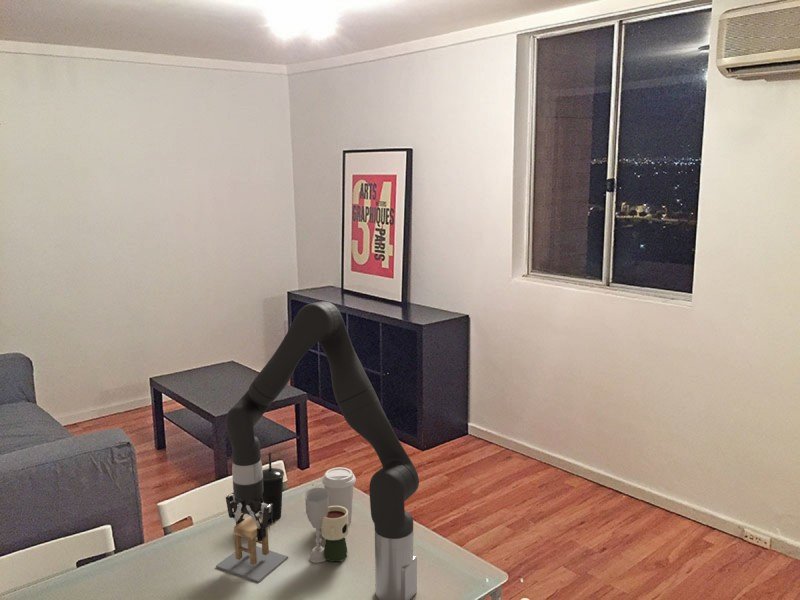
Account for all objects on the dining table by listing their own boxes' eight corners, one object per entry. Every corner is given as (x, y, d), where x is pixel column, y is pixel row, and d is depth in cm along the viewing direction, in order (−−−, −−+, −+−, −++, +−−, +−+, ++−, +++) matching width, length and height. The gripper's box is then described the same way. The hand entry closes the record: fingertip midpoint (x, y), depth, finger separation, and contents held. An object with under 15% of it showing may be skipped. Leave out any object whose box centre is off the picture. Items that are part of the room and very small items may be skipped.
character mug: (347, 569, 177) (345, 523, 174) (319, 569, 177) (317, 523, 174) (351, 545, 187) (350, 501, 184) (325, 545, 187) (323, 501, 185)
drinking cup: (256, 513, 204) (253, 450, 200) (281, 508, 207) (279, 446, 203) (263, 525, 197) (259, 461, 193) (289, 520, 201) (286, 456, 196)
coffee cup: (318, 527, 197) (316, 478, 193) (331, 510, 205) (329, 464, 202) (349, 532, 194) (348, 483, 191) (361, 515, 203) (360, 468, 200)
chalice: (327, 566, 178) (325, 502, 174) (302, 563, 179) (299, 500, 175) (335, 550, 185) (333, 488, 181) (311, 547, 186) (308, 486, 182)
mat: (288, 558, 182) (288, 556, 182) (258, 582, 171) (258, 580, 171) (246, 544, 188) (246, 542, 188) (216, 567, 178) (215, 565, 178)
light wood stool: (268, 553, 180) (267, 521, 179) (253, 564, 175) (252, 532, 173) (251, 547, 183) (249, 516, 181) (235, 558, 178) (233, 527, 176)
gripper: (279, 476, 175) (282, 536, 178) (235, 465, 181) (239, 523, 185) (260, 489, 168) (263, 551, 172) (215, 476, 175) (219, 536, 178)
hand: (251, 536), depth 178 cm, fingers closed on light wood stool, 6 cm apart
